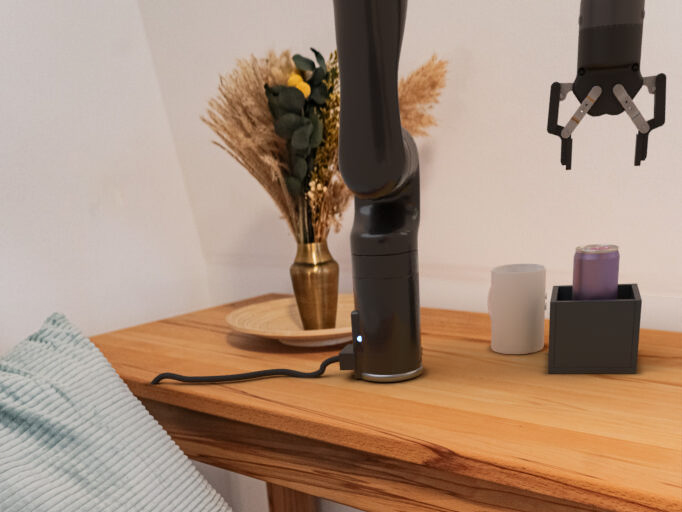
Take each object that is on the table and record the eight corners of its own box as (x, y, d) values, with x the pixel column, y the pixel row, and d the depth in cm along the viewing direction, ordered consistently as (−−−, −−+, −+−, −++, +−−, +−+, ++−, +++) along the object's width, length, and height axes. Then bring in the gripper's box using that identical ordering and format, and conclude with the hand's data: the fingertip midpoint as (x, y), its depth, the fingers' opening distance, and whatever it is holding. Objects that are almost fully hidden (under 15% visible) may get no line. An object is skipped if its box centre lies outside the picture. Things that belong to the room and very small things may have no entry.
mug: (513, 334, 138) (514, 258, 133) (555, 348, 128) (558, 267, 122) (469, 341, 135) (468, 265, 130) (508, 357, 125) (509, 275, 120)
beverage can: (614, 362, 116) (622, 249, 110) (570, 362, 117) (574, 251, 111) (611, 350, 121) (618, 243, 115) (568, 351, 122) (573, 245, 116)
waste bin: (547, 373, 116) (550, 302, 112) (550, 351, 126) (553, 285, 122) (636, 373, 113) (641, 300, 109) (632, 351, 123) (637, 283, 119)
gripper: (670, 20, 103) (658, 162, 110) (551, 32, 107) (546, 168, 114) (676, 15, 97) (662, 166, 104) (549, 27, 101) (544, 173, 107)
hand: (602, 167), depth 109 cm, fingers open, 8 cm apart
